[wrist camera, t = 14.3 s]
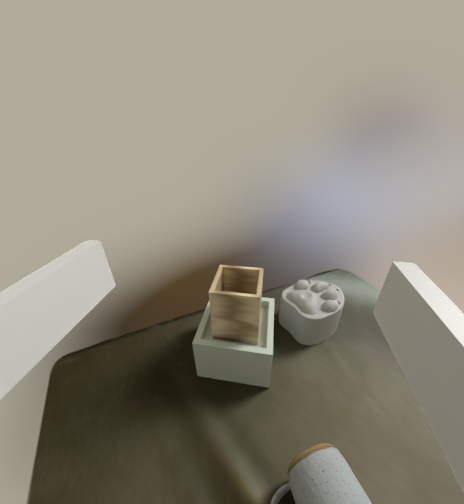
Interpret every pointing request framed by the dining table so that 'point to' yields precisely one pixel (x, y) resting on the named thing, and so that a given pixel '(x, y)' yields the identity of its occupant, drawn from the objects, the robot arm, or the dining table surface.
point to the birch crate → (236, 304)
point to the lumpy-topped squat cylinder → (311, 310)
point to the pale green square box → (236, 352)
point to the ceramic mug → (322, 479)
